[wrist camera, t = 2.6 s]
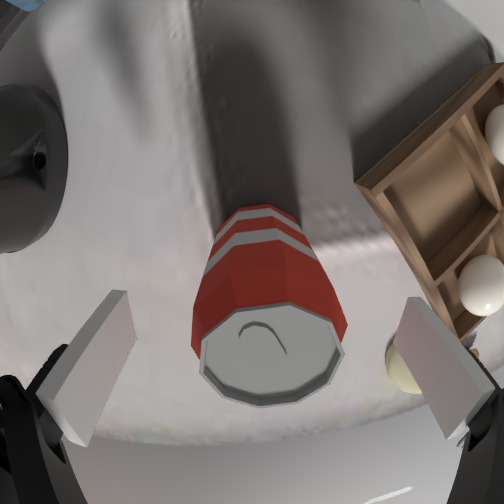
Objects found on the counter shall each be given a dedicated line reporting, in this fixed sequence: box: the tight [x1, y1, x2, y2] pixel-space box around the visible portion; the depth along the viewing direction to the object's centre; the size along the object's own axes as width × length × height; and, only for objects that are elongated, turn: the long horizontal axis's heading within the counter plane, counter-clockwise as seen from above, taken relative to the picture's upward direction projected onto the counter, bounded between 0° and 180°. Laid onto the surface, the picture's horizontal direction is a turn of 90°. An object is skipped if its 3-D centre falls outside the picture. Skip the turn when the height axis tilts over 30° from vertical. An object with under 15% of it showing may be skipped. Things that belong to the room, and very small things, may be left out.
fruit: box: [385, 343, 479, 394], centre depth 25 cm, size 7×15×3 cm, turn 70°
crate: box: [354, 62, 504, 342], centre depth 18 cm, size 20×20×3 cm
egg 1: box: [458, 255, 504, 316], centre depth 18 cm, size 6×6×6 cm
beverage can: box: [191, 204, 348, 408], centre depth 15 cm, size 6×6×12 cm
